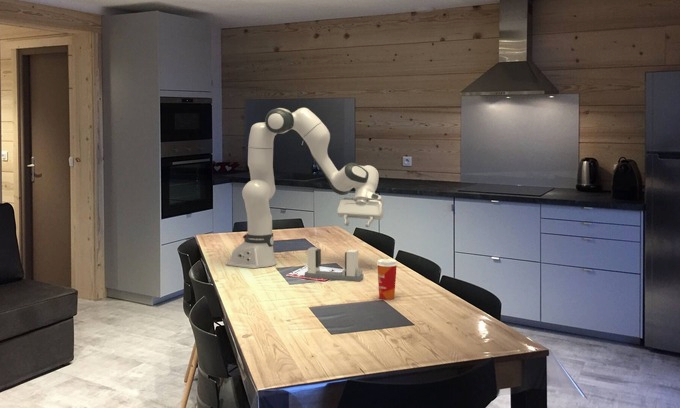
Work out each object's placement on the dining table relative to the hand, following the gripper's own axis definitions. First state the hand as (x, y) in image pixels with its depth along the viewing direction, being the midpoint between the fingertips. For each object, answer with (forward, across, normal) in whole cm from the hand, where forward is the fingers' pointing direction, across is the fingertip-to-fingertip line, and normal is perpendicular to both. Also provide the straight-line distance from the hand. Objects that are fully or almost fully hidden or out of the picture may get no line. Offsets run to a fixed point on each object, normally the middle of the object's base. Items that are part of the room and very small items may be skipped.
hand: (356, 225), depth 287 cm
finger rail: (+24, -5, +3) cm, 25 cm away
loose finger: (+22, +3, +2) cm, 23 cm away
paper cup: (+38, +24, -13) cm, 47 cm away
